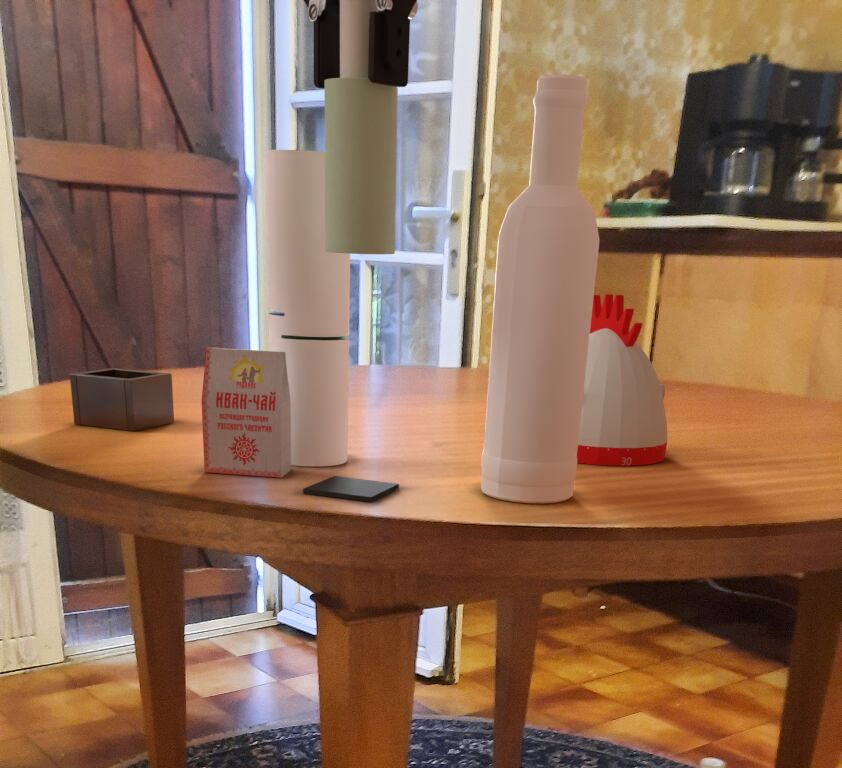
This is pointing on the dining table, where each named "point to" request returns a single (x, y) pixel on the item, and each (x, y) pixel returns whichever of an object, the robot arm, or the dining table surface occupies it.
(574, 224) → the bottle
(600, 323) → the kitchen timer
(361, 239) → the bottle
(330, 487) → the coaster
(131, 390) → the box
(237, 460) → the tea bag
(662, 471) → the dining table surface
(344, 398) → the cylindrical container
